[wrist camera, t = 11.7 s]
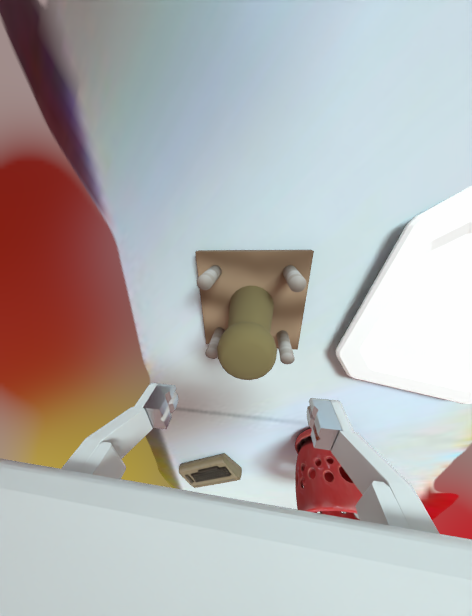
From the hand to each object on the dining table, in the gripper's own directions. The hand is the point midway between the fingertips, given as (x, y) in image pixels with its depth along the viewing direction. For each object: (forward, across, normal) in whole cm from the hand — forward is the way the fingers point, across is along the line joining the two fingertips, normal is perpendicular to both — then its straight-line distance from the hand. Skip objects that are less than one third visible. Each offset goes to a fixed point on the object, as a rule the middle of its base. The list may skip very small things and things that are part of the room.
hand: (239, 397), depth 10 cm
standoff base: (+16, 0, +1) cm, 16 cm away
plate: (+16, -26, +2) cm, 31 cm away
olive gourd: (+15, 0, +1) cm, 15 cm away
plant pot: (+15, -15, +32) cm, 38 cm away
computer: (+15, +10, +50) cm, 53 cm away
